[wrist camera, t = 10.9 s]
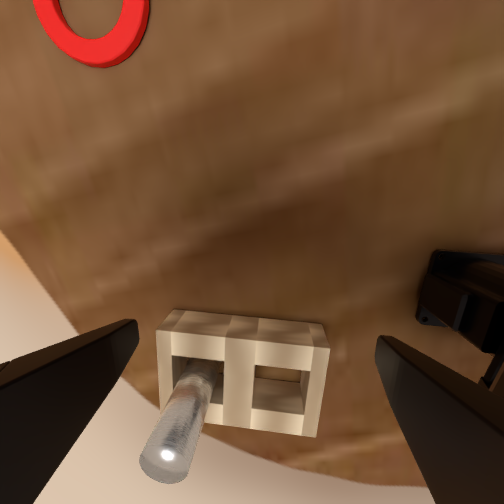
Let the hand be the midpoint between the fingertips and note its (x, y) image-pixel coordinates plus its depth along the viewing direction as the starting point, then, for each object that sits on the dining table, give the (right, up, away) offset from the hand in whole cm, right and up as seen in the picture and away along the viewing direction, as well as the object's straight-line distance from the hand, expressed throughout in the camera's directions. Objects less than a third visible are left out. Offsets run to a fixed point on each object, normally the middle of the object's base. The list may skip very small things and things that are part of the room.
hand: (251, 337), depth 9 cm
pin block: (-1, -7, +15) cm, 16 cm away
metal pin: (-4, -7, +15) cm, 17 cm away
